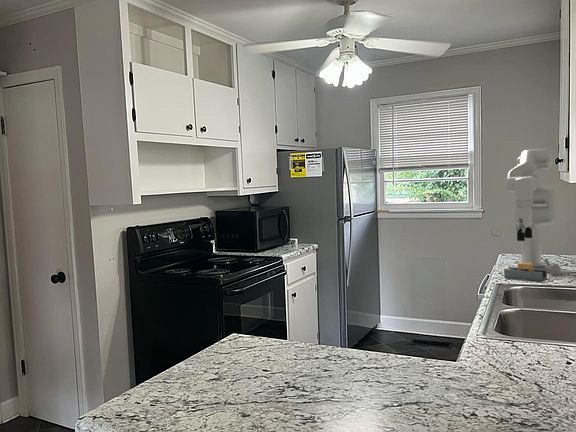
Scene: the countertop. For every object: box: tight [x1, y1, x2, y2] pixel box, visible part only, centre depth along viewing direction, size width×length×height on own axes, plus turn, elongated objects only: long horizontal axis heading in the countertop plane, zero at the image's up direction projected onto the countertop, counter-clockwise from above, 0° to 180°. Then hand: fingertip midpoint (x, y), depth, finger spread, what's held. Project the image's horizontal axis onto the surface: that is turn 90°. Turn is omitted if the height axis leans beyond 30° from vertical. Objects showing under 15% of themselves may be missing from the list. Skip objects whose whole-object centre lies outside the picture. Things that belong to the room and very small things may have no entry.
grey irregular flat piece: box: [543, 257, 561, 276], centre depth 236 cm, size 7×2×8 cm, turn 55°
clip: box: [517, 262, 534, 271], centre depth 231 cm, size 2×6×6 cm, turn 46°
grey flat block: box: [503, 266, 548, 282], centre depth 232 cm, size 7×17×4 cm, turn 45°
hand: (524, 239), depth 231 cm, fingers open, 9 cm apart
